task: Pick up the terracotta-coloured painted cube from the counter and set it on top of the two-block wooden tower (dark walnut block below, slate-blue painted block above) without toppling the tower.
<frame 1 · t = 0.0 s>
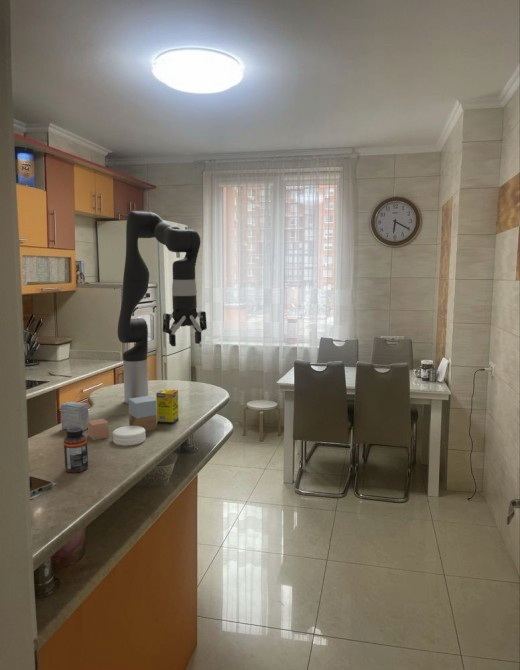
hand: (185, 344, 169), 29 cm above the table, tool pointing down, fingers open, 8 cm apart
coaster: (129, 441, 166), on the table
tower top block: (142, 413, 177), point 5 cm above the table, touching tower base block
supplement box: (168, 422, 185), on the table
cube: (98, 436, 170), on the table
supplement bottle: (77, 469, 144), on the table
medicine box: (75, 429, 178), on the table
tower base block: (143, 428, 178), on the table, touching tower top block
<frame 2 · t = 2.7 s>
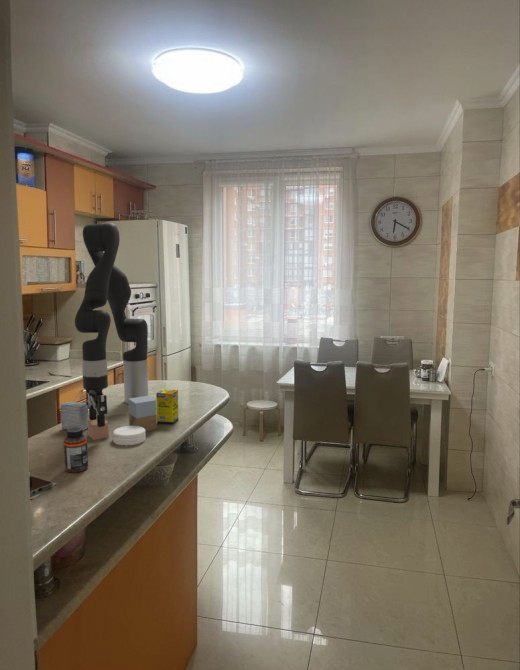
hand: (97, 423, 169), 5 cm above the table, tool pointing down, fingers open, 8 cm apart
nothing on the table moved.
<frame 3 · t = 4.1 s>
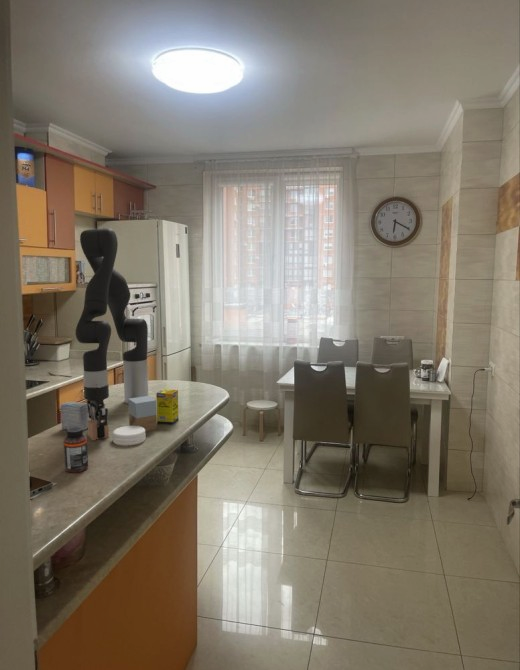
hand: (98, 435, 170), 0 cm above the table, tool pointing down, fingers closed on cube, 5 cm apart
cube: (98, 436, 170), on the table, touching gripper
everything else where it was.
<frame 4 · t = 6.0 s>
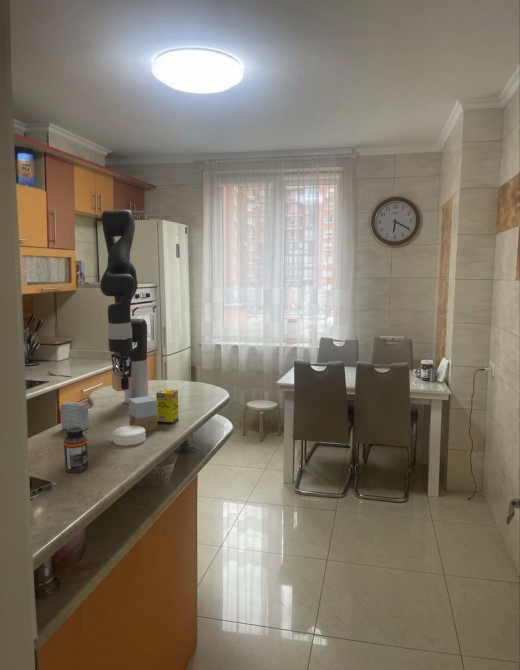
hand: (122, 387, 173), 15 cm above the table, tool pointing down, fingers closed on cube, 5 cm apart
cube: (122, 388, 173), point 14 cm above the table, touching gripper
everything else where it was.
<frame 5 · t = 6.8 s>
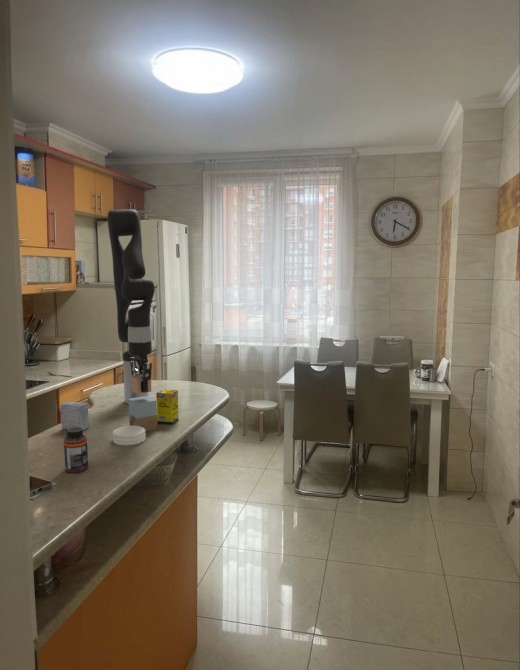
hand: (141, 389, 176), 13 cm above the table, tool pointing down, fingers closed on cube, 5 cm apart
cube: (141, 391, 176), point 13 cm above the table, touching gripper
everything else where it was.
when the fingers open (12 cm above the table, at t = 7.9 s): cube drops 1 cm, resting on tower top block.
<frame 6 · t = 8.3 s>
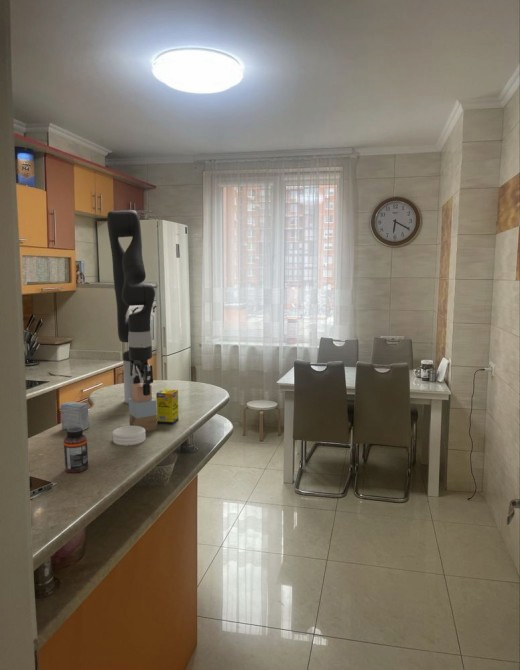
hand: (141, 392, 176), 12 cm above the table, tool pointing down, fingers open, 8 cm apart
tower top block: (142, 414, 177), point 5 cm above the table, touching cube, tower base block
cube: (141, 399, 177), point 10 cm above the table, touching tower top block
everything else where it was.
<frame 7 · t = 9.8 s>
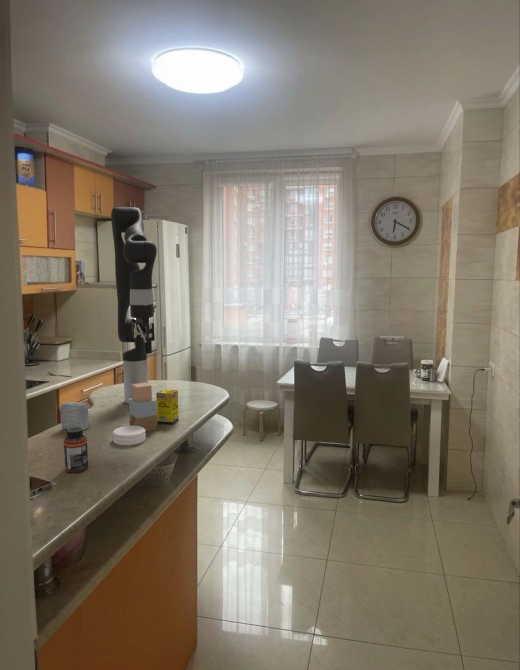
hand: (143, 351, 176), 26 cm above the table, tool pointing down, fingers open, 8 cm apart
nothing on the table moved.
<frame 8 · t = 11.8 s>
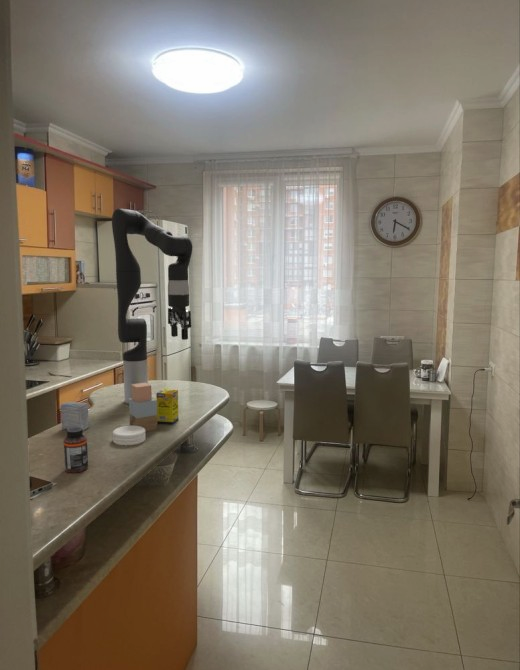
hand: (179, 338, 190), 28 cm above the table, tool pointing down, fingers open, 8 cm apart
nothing on the table moved.
at the end: cube inside the target area on the tower top block (0.4 cm from its centre), point 5.0 cm above the tower top block's base; cube tilted 0°; tower top block tilted 0° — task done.
